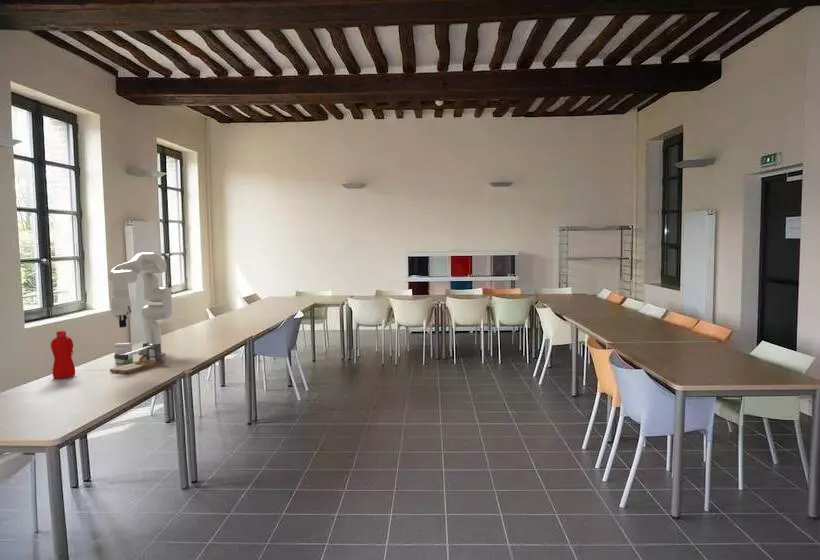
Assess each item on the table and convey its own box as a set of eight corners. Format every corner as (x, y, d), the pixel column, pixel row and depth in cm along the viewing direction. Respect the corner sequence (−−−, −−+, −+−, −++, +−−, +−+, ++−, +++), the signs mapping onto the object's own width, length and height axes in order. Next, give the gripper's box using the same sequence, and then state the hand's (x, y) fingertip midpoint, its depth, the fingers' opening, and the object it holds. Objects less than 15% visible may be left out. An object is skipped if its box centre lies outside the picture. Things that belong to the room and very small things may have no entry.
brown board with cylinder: (110, 372, 310) (108, 351, 309) (146, 362, 334) (145, 342, 333) (128, 374, 306) (127, 352, 305) (164, 363, 330) (162, 343, 329)
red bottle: (67, 379, 297) (64, 332, 294) (49, 378, 299) (46, 332, 297) (81, 375, 306) (78, 329, 303) (63, 374, 308) (60, 329, 306)
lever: (149, 350, 332) (148, 343, 332) (159, 351, 330) (158, 343, 330) (114, 362, 309) (113, 354, 308) (124, 362, 307) (123, 355, 306)
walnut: (137, 363, 322) (137, 356, 322) (143, 361, 326) (142, 355, 326) (143, 363, 321) (142, 357, 321) (148, 362, 325) (148, 355, 324)
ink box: (133, 361, 336) (132, 342, 335) (129, 363, 331) (128, 343, 330) (119, 362, 336) (117, 342, 335) (114, 364, 331) (113, 344, 330)
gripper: (104, 294, 307) (106, 327, 309) (125, 295, 302) (127, 328, 304) (116, 292, 314) (118, 325, 316) (136, 293, 309) (138, 326, 311)
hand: (122, 327), depth 310 cm, fingers closed
